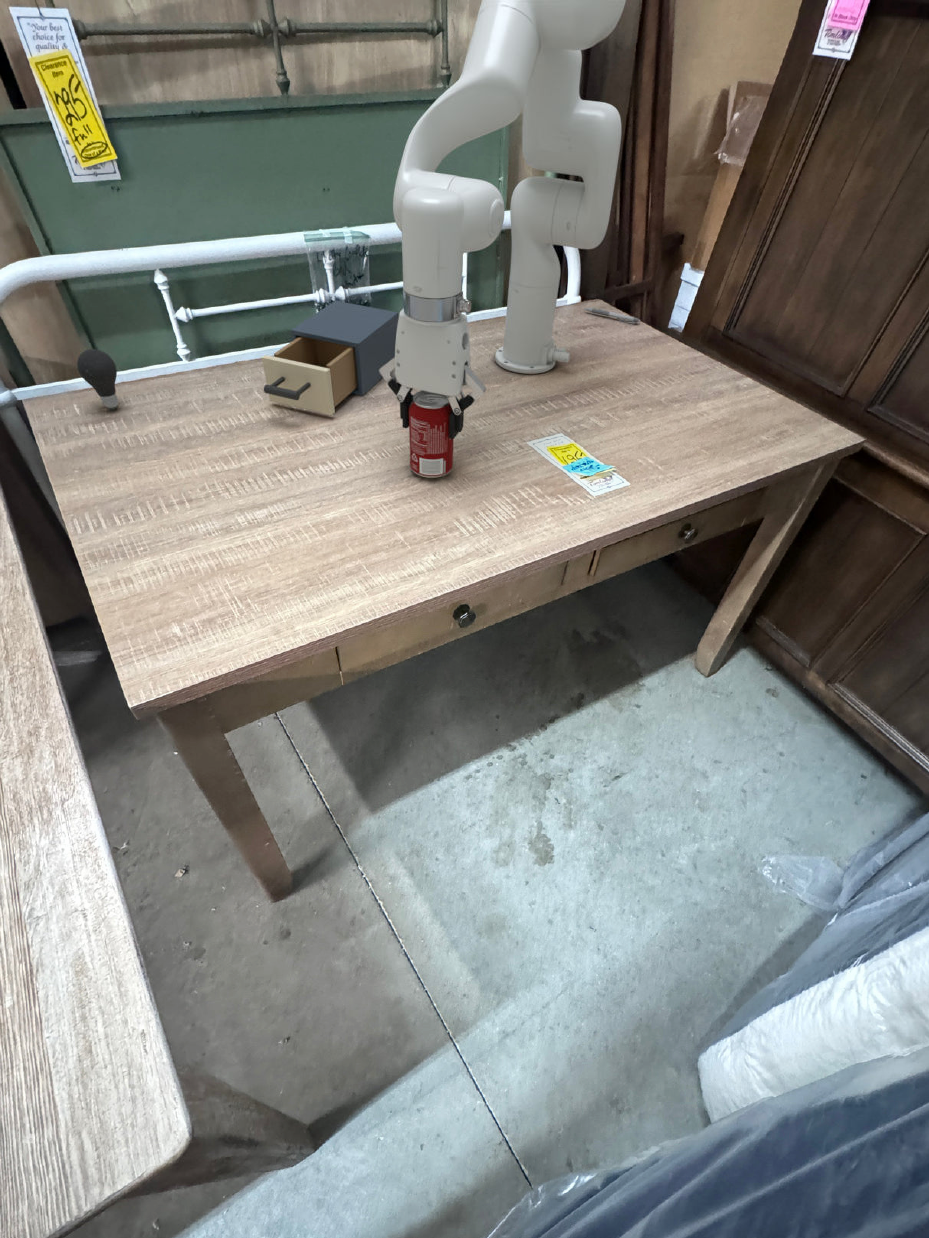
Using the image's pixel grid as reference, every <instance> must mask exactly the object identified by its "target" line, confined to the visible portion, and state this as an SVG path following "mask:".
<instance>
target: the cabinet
mask: <svg viewBox="0 0 929 1238" xmlns="http://www.w3.org/2000/svg"><path fill="white" fill-rule="evenodd" d="M398 319H399V312H398V311H393V310H387V309H382V308H376V307H371V306H366V305H361V304H355V303H350V302H344V301H340V300H334V301H332V302H331V303H330V304H328V305H327V306H325V307H324V308H322V309H320V310H319V311H317V312H316V313H314V314H312V316H311V315H310V317H308V318H306V319H305V320H304V321H302V322H301V323H299V324H297V325H295V326H294V327H293V328H291V329H290V334H291V335H290V336H291V340H292V341H294V340H295V339H296V338H298V337H299V336H302V337H307V338H312V339H317V340H322V341H327V342H332V343H336V344H341V345H346V346H351V347H355V354H356V366H357V378H358V387H357V388H356V389H355V390H353V391H352V392H351V393H350V394H352V395H357V396H361V397H363V396H364V395H365V394H367V393H368V392H369V391H370V390H371V389H372V388H373V387H374V386H375V385H377V384H378V382H380V381H381V380H382V379H384V378H383V376H382V375H381V374H380V372H379V369H380V368H381V367H382V366H383V365H385V364H386V363H387V362H388V361H390V360H391V359H392V358H394V357H395V343H396V333H397V325H398ZM292 341H291V342H292Z"/></svg>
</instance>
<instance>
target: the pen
mask: <svg viewBox="0 0 929 1238" xmlns="http://www.w3.org/2000/svg"><path fill="white" fill-rule="evenodd" d="M584 309H585V311H587V312H589V313H592V314H597V315H601V316H605V317H610V318H616V319H617V320H618V321H620V322H622V323H627V324H631V325H632V324H635V325H636V324H637V323H640V322H641V320H640V319H639V318H637V317H634V316H631V315H625V314H621V313H616V312H612V311H608V310H603V309H599V308H595V307H585V308H584Z"/></svg>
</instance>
